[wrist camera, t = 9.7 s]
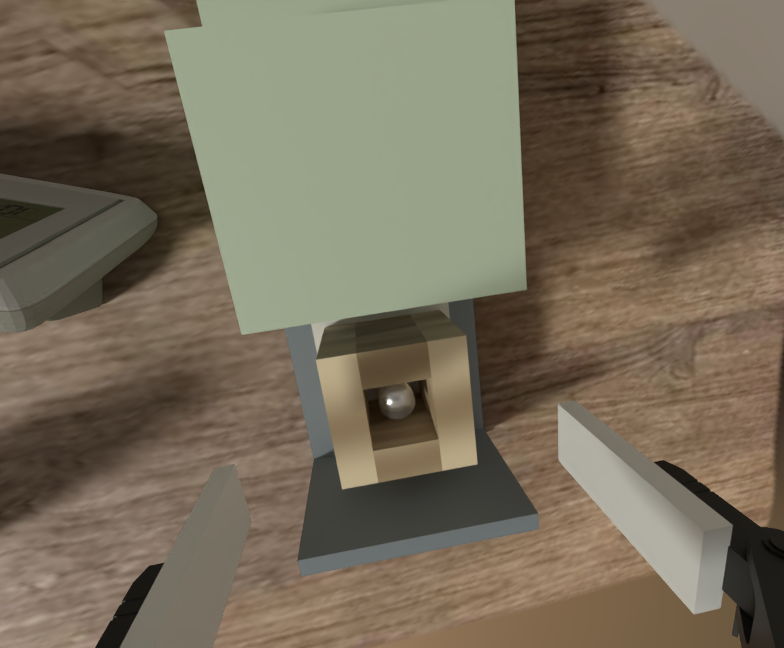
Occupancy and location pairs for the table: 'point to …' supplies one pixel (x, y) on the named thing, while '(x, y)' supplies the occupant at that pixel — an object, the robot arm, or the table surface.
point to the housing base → (406, 495)
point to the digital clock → (61, 247)
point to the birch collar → (389, 367)
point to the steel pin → (396, 400)
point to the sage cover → (356, 152)
